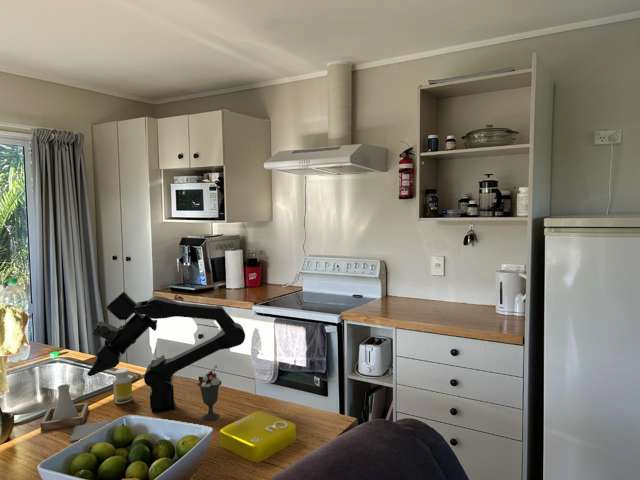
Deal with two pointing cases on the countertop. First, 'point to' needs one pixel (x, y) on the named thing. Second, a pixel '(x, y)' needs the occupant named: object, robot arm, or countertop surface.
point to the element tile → (257, 436)
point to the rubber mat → (86, 430)
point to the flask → (64, 404)
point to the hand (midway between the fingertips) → (91, 369)
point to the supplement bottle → (122, 386)
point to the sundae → (210, 393)
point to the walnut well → (64, 422)
